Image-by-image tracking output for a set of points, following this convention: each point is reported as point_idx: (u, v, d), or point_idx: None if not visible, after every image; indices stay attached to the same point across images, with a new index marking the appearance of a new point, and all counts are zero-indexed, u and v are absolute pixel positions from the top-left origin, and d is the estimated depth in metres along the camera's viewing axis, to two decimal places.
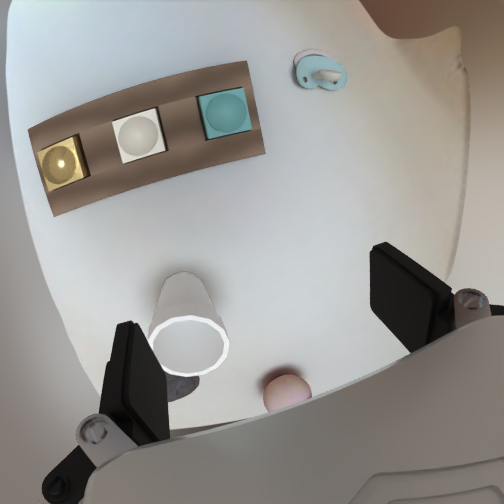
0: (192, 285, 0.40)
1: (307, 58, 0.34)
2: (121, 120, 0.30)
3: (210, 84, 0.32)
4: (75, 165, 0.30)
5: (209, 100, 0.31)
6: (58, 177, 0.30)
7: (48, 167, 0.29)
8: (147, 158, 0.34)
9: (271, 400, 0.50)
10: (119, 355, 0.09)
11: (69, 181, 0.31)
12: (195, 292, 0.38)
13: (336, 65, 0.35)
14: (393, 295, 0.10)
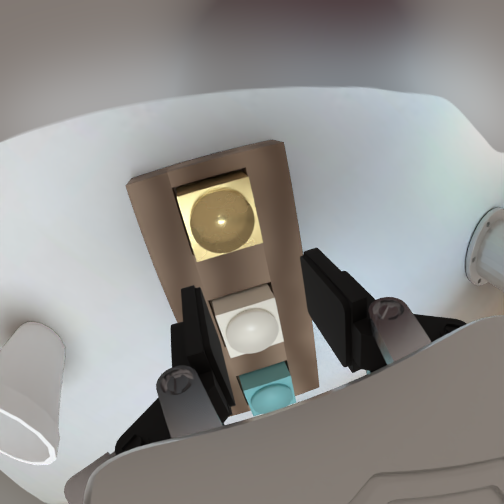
0: (61, 382, 0.25)
1: None
2: (274, 308, 0.26)
3: (298, 368, 0.32)
4: None
5: (285, 383, 0.30)
6: (202, 224, 0.21)
7: (221, 204, 0.20)
8: (215, 327, 0.27)
9: None
10: (191, 313, 0.10)
11: (191, 237, 0.22)
12: (59, 399, 0.23)
13: None
14: (319, 301, 0.11)
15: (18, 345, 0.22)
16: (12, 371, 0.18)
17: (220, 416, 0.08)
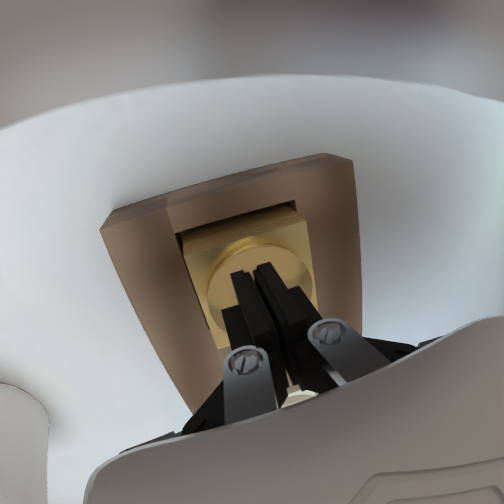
0: (45, 459, 0.16)
1: None
2: None
3: None
4: None
5: None
6: (228, 301, 0.12)
7: None
8: None
9: None
10: (248, 295, 0.10)
11: (209, 317, 0.13)
12: (45, 482, 0.15)
13: None
14: None
15: None
16: None
17: (281, 397, 0.09)
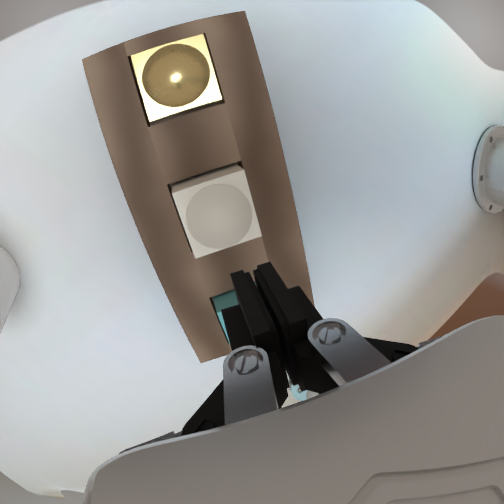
0: (6, 306, 0.20)
1: None
2: (245, 185, 0.21)
3: None
4: (172, 106, 0.18)
5: None
6: (154, 76, 0.17)
7: (174, 56, 0.16)
8: (177, 221, 0.23)
9: None
10: (247, 295, 0.10)
11: (144, 94, 0.18)
12: (0, 323, 0.18)
13: None
14: None
15: None
16: None
17: (281, 397, 0.09)
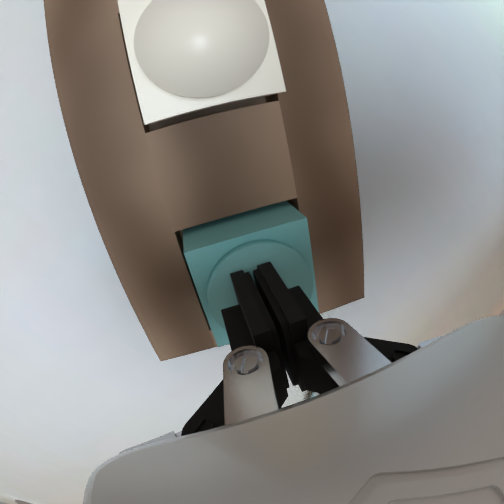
0: None
1: None
2: None
3: (322, 232, 0.15)
4: None
5: (294, 244, 0.13)
6: None
7: None
8: (126, 73, 0.10)
9: None
10: (247, 295, 0.10)
11: None
12: None
13: None
14: None
15: None
16: None
17: (281, 397, 0.09)
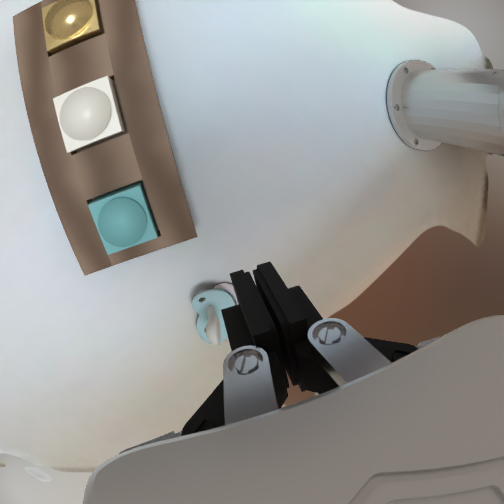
0: None
1: (229, 298, 0.35)
2: (108, 88, 0.20)
3: (159, 196, 0.27)
4: (62, 37, 0.18)
5: (135, 198, 0.25)
6: (52, 18, 0.16)
7: (68, 3, 0.16)
8: None
9: None
10: (247, 295, 0.10)
11: (46, 33, 0.17)
12: None
13: None
14: None
15: None
16: None
17: (281, 397, 0.09)
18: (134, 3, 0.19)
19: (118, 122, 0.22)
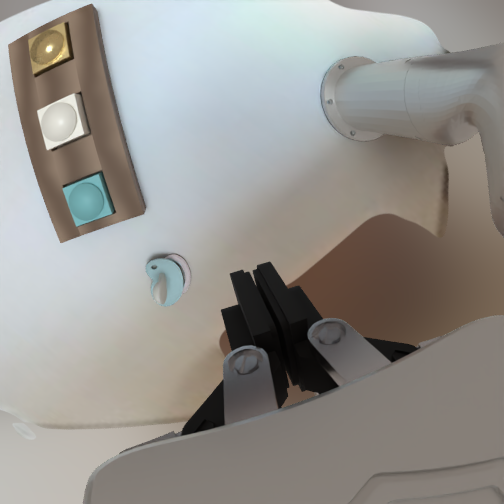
0: None
1: (176, 267, 0.41)
2: (74, 102, 0.27)
3: (114, 182, 0.33)
4: (43, 64, 0.24)
5: (95, 184, 0.32)
6: (35, 49, 0.23)
7: (46, 37, 0.22)
8: None
9: None
10: (247, 295, 0.10)
11: (32, 60, 0.24)
12: None
13: (177, 294, 0.43)
14: None
15: None
16: None
17: (281, 397, 0.09)
18: (95, 33, 0.25)
19: (81, 127, 0.28)
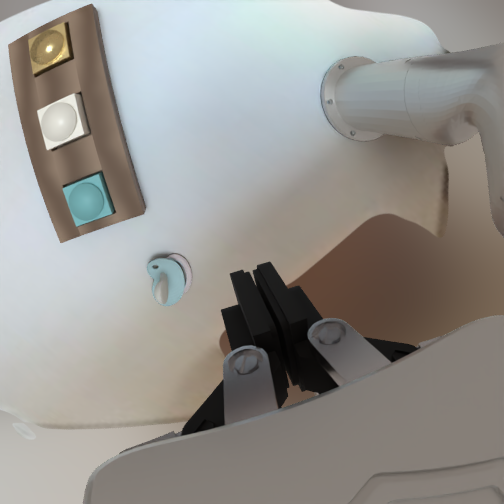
0: None
1: (177, 266, 0.41)
2: (74, 102, 0.27)
3: (114, 182, 0.33)
4: (43, 64, 0.24)
5: (95, 184, 0.32)
6: (35, 49, 0.23)
7: (46, 37, 0.22)
8: None
9: None
10: (247, 295, 0.10)
11: (32, 60, 0.24)
12: None
13: (178, 294, 0.43)
14: None
15: None
16: None
17: (281, 397, 0.09)
18: (95, 33, 0.25)
19: (82, 127, 0.28)
